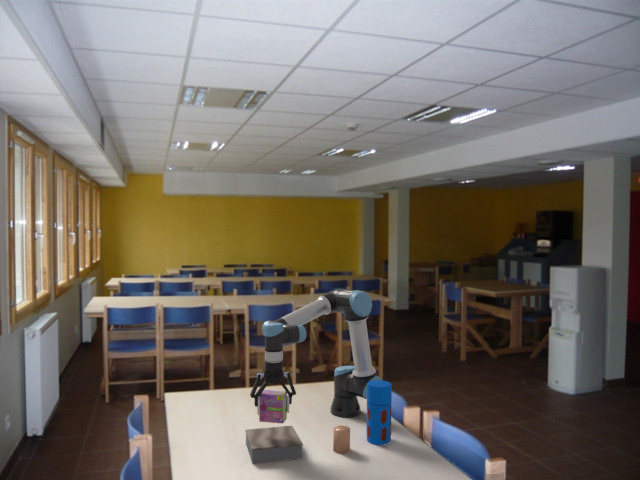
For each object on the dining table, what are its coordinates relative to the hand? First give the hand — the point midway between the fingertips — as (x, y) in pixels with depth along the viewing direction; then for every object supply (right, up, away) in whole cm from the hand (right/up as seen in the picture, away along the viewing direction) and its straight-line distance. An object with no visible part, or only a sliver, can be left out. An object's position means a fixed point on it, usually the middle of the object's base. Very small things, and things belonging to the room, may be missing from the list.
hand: (273, 412), depth 217 cm
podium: (0, -16, 0) cm, 16 cm away
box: (0, -3, 0) cm, 3 cm away
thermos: (+45, -16, +13) cm, 50 cm away
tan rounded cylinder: (+29, -16, +2) cm, 33 cm away
